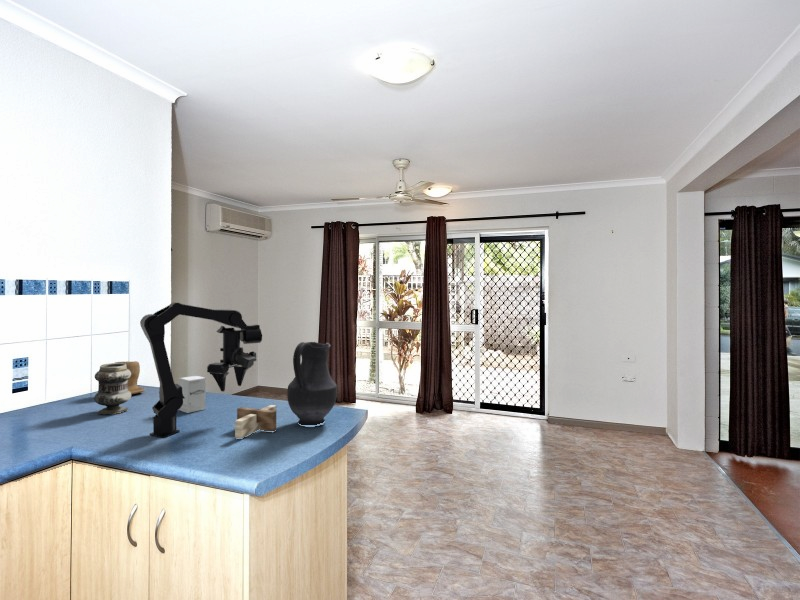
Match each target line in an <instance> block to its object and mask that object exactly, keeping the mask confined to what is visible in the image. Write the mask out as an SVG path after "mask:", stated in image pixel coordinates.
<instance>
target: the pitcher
mask: <svg viewBox="0 0 800 600" xmlns="http://www.w3.org/2000/svg"><path fill="white" fill-rule="evenodd" d="M330 348H331V344H330V343H329V342H326V343H320V342H318V341H317V342H316V341H308V342H307V341H306V342H304V341H303V342H302V341H301V342H299V343H298V344H297V345H296V347H295V349H294V352H293V357H292V362H293V370H294V376H295V377H294V378H293V379H292V380H291V381H290V383H289V384H288V385H287V392H286V393H287V394H286V395H287V404H288V407H289V408H290V410H291V412H292V413H293V414H294V416H295V415H296V417H297V418H298V419H299V420H298V421H297V424H298V423H299V424H301V425H317V424H320V423H323V422H324V421H326V419H325V417H326V416H327V415H328V414H329V413H330V412H331V411H332V409H333V408H334V406H335V404H336V402H337V397H338V385H337V383H336V382H335V381H334V380H333V379H332V378H333V377H332V376H331V373H330V371H329V366H328V352H329V349H330Z"/></svg>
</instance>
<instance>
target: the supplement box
mask: <svg viewBox="0 0 800 600" xmlns="http://www.w3.org/2000/svg"><path fill="white" fill-rule="evenodd" d="M206 380H207V377H203V376H199V375H191V376H185V377H179V378H178V385H180V386H181V387H182V393H183V396H184V397H185V399H183V405H182V406H181V408H180V409H178V411H181V412H183V413H187V414H189V413H193V412H194V413H195V412H199V411H203V410H206V403H207V402H206V396H207V395H206V386H207V383H206Z"/></svg>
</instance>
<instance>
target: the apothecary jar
mask: <svg viewBox="0 0 800 600" xmlns="http://www.w3.org/2000/svg"><path fill="white" fill-rule="evenodd" d="M130 376H131V372H130V370H128V369H127V367H126V364H124V363H115V362H112V363H111V362H110V363H104V364H100V365H99V370H98V371H96V372H95V374H94V379H95V381H97V382H98V390H97V393H96V394H95V395H94V397H93V401H94V402H95V403H96V404H98V405H100V406H105V407H103V408H102V409H99V410H98V411H97V414H98V415H100V414H114V415H117V414H116V413H120V414H122V413H121V412H123V411H126V412H128V411H129V408H128V407H125V406H123V404H126V402H128V401H129V400H131V398H132V395H131V393H130V391H128V378H130ZM127 410H128V411H127ZM123 413H124V412H123Z"/></svg>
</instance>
